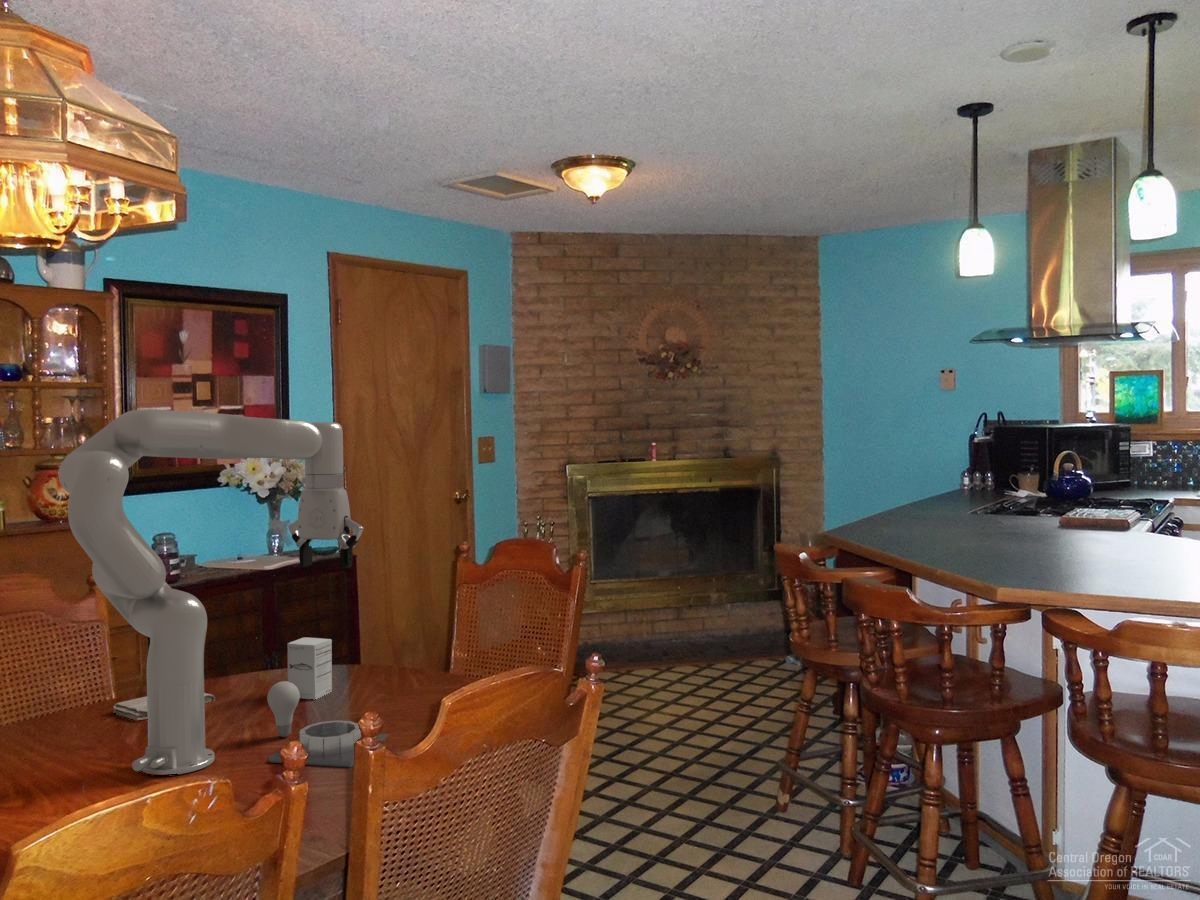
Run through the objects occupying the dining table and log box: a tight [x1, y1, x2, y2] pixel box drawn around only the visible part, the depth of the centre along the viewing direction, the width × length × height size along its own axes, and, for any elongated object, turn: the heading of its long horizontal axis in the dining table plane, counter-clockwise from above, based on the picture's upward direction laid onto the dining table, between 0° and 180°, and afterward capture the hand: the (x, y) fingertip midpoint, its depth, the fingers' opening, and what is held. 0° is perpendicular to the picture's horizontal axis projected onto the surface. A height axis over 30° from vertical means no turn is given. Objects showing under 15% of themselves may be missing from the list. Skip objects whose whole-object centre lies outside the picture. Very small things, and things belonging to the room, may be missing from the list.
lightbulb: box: [266, 680, 301, 738], centre depth 190 cm, size 6×6×11 cm
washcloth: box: [112, 692, 216, 720], centre depth 211 cm, size 12×18×3 cm, turn 145°
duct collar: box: [268, 720, 389, 769], centre depth 182 cm, size 16×16×4 cm
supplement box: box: [287, 637, 333, 701], centre depth 221 cm, size 7×7×13 cm
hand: (326, 567), depth 196 cm, fingers open, 9 cm apart
